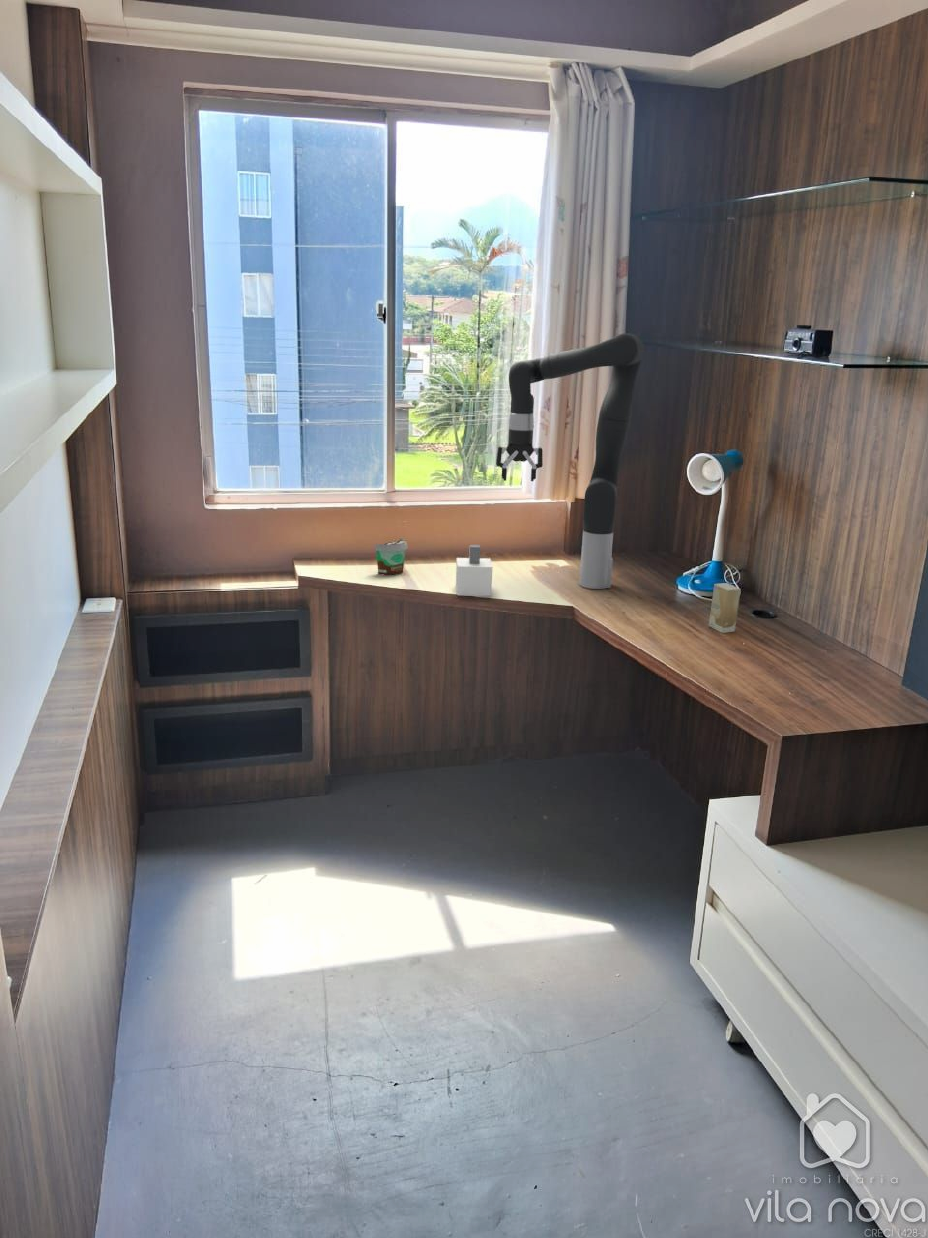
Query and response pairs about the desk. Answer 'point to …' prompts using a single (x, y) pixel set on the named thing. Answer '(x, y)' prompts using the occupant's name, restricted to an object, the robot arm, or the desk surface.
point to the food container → (391, 557)
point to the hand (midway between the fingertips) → (518, 480)
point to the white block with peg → (474, 574)
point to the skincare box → (724, 607)
